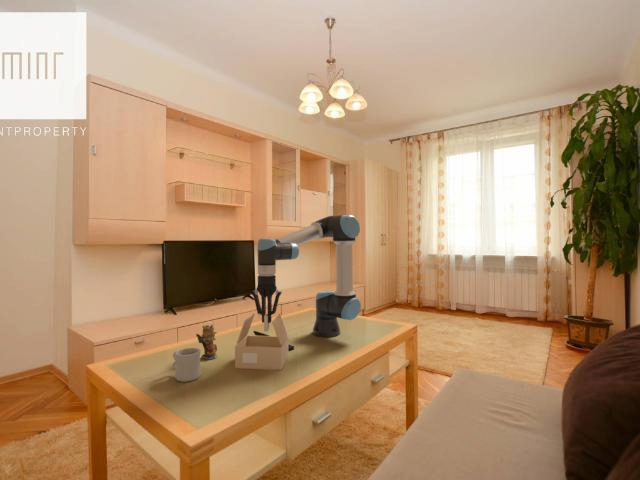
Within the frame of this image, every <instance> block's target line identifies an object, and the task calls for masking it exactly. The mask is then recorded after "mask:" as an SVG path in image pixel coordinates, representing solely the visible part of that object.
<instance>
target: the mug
mask: <svg viewBox="0 0 640 480" xmlns="http://www.w3.org/2000/svg"><path fill="white" fill-rule="evenodd" d="M172 357H173V359H174V362H173V363H172V367H173V369H174V370H175V374H174V375H175V376H174V377H175V381H176V380H177V382H182V383H186V382H188V383H189V382H192V381H196V380H198V379H199V378H200V377H201V374H202V373H201V361H200V360H201V349H200V348H198V347H185V348H182V349H178V350H177V351H176V350H175V351H174V353H173V354H172Z"/></svg>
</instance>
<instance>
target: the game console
mask: <svg viewBox="0 0 640 480" xmlns="http://www.w3.org/2000/svg"><path fill="white" fill-rule="evenodd" d="M253 334H254V336H270V335H269V334H265V333H262V332H259V331H256V330H253ZM292 350H295V346H294V345H291V344H289V343H288V352H290V351H292Z"/></svg>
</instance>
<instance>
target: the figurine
mask: <svg viewBox="0 0 640 480" xmlns="http://www.w3.org/2000/svg"><path fill="white" fill-rule="evenodd" d="M202 328H203V329H202V334H198V333H196V337H197V340H198V343H199V344H201V345H202V346H203V350H204V354H203V353H202V355H201V356H200V359H201V360H207V361H208V360H214V359H215V360H216V358H217V357H218V354H217V352H218V346H217V344H216V343H214V341H216V340H217V338H215V335H216V334H217V333H218V332H217V331H215V327H214V324H206V325H202Z"/></svg>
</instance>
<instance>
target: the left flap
mask: <svg viewBox="0 0 640 480" xmlns="http://www.w3.org/2000/svg"><path fill="white" fill-rule="evenodd" d="M255 314H256V313H252V314H251V315H250V316H249V317H247V318H246V319H245V320H244V322H243V325H242V327H241V330H240V333H239V335H238V337H237V341H236V345H237V344H238V343H239V342H240V341H241V340H242V339H243V338H244V337H245V336H247V335H249V332H250V330H251V329H250V328H251V326H252V323H253V321H254V317H255Z"/></svg>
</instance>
